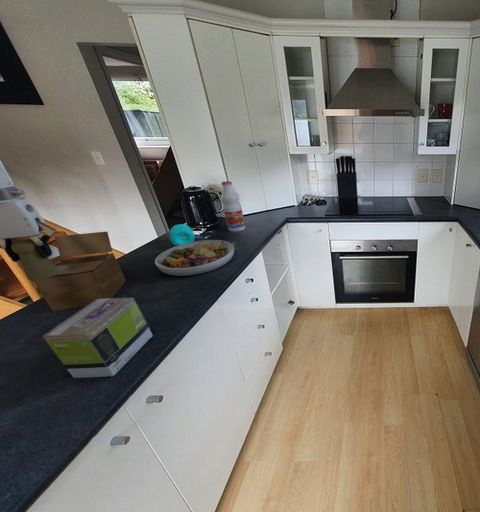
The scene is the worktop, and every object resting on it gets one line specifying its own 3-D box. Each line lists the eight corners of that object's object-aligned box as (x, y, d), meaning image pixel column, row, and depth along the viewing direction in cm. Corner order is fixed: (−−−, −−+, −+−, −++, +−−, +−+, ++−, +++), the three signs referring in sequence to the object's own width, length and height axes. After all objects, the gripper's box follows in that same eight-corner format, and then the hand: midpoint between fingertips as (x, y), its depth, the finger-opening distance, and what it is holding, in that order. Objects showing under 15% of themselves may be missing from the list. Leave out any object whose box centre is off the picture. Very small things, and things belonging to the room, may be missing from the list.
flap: (54, 236, 98) (55, 236, 98) (60, 257, 99) (61, 257, 99) (106, 231, 103) (107, 231, 104) (111, 251, 104) (112, 251, 105)
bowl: (155, 260, 126) (149, 244, 123) (226, 244, 144) (222, 230, 141) (163, 287, 106) (156, 270, 103) (244, 264, 124) (240, 249, 121)
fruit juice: (245, 225, 169) (235, 180, 157) (246, 230, 162) (235, 183, 149) (228, 227, 166) (217, 181, 153) (228, 233, 158) (216, 184, 146)
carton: (52, 311, 92) (31, 278, 86) (77, 287, 105) (60, 257, 99) (109, 302, 97) (92, 269, 91) (125, 280, 110) (112, 251, 104)
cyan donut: (173, 249, 136) (167, 231, 132) (173, 243, 144) (166, 225, 139) (197, 245, 142) (191, 227, 137) (195, 239, 149) (190, 221, 145)
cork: (22, 278, 78) (-1, 243, 73) (50, 268, 84) (30, 235, 79) (36, 281, 77) (14, 246, 72) (64, 271, 82) (45, 238, 77)
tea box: (119, 337, 82) (97, 296, 75) (154, 336, 83) (135, 296, 76) (71, 379, 69) (39, 334, 62) (113, 377, 69) (87, 333, 63)
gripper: (50, 190, 76) (80, 248, 84) (-41, 193, 70) (1, 256, 78) (31, 196, 70) (65, 259, 78) (-70, 201, 64) (-21, 268, 72)
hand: (33, 257), depth 78 cm, fingers closed on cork, 5 cm apart
